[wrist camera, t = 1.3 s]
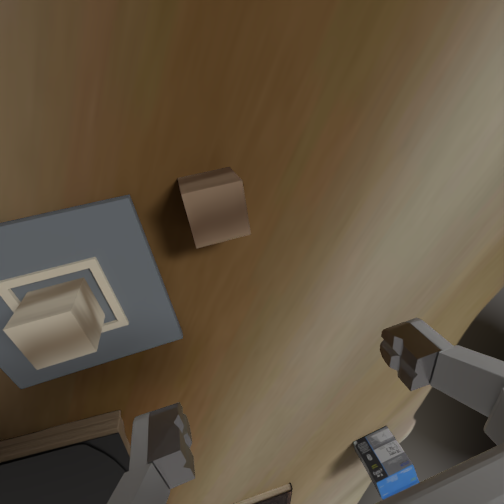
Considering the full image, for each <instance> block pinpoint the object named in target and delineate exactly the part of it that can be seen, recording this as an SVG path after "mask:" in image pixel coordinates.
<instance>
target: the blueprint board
mask: <svg viewBox="0 0 504 504" xmlns="http://www.w3.org/2000/svg"><path fill="white" fill-rule="evenodd" d="M83 277H84V278H85V280H86V282H87V284H88V285H89V287H90V289H91V291H92V292H93V294H94V296H95V298H96V300H97V301H98V303H99V305H100V307H101V308H102V310H103V312H104V314H105V318H104V323H103V327H102V331H101V336H100V340H99V344H98V349H97V352H94V353H91V354H87V355H84V356H81V357H78V358H74V359H71V360H68V361H65V362H61V363H58V364H55V365H52V366H48V367H45V368H42V369H39V370H37V369H36V368H35V367H34V366H33V365H32V364H31V362H30V361H29V360H28V359H27V358H26V357H25V355H24V354H23V353H22V352H21V351H20V350H19V348H18V347H17V346H16V345H15V344H14V343H13V341H12V340H11V339H10V338H9V337H8V335H7V334H6V333H5V332H4V331H3V329H4V327H5V326H6V324H7V323H8V321H9V320H10V318H11V317H12V315H13V314H14V312H15V310H16V309H17V307H18V306H19V304H20V303H21V301H22V300H23V298H24V297H25V295H26V293H27V292H30V291H34V290H38V289H41V288H45V287H49V286H53V285H57V284H60V283H64V282H68V281H72V280H76V279H79V278H83ZM182 338H183V333H182V330H181V327H180V325H179V322H178V319H177V317H176V314H175V312H174V309H173V306H172V304H171V301H170V299H169V296H168V293H167V291H166V288H165V285H164V283H163V280H162V278H161V275H160V272H159V270H158V267H157V265H156V262H155V259H154V257H153V254H152V252H151V249H150V246H149V244H148V241H147V238H146V236H145V233H144V231H143V228H142V225H141V223H140V220H139V218H138V215H137V212H136V210H135V207H134V205H133V202H132V199H131V197H130V195H125V196H121V197H116V198H111V199H107V200H102V201H98V202H93V203H89V204H84V205H80V206H75V207H71V208H66V209H62V210H57V211H53V212H48V213H44V214H39V215H35V216H30V217H26V218H21V219H17V220H12V221H8V222H3V223H0V368H1V369H2V370H3V371H4V372H5V373H6V374H7V375H8V376H9V377H10V378H11V380H12V381H13V382H14V383H15V384H16V385H17V386H18V387H19V388H20V389H23V388H27V387H30V386H33V385H36V384H39V383H42V382H46V381H49V380H52V379H55V378H58V377H61V376H65V375H68V374H71V373H74V372H77V371H80V370H84V369H87V368H90V367H93V366H96V365H99V364H103V363H106V362H109V361H112V360H115V359H118V358H121V357H125V356H128V355H131V354H134V353H137V352H140V351H144V350H147V349H150V348H153V347H156V346H159V345H163V344H166V343H169V342H172V341H175V340H178V339H182Z"/></svg>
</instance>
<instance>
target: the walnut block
mask: <svg viewBox="0 0 504 504" xmlns="http://www.w3.org/2000/svg"><path fill="white" fill-rule="evenodd" d="M177 179H178V183H179V187H180V192H181V196H182V199H183V203H184V206H185V210H186V213H187V217H188V220H189V224H190V227H191V231H192V234H193V238H194V242H195V245H196V249H197V248H200V247H204V246H208V245H212V244H216V243H219V242H223V241H227V240H231V239H235V238H238V237H242V236H246V235H250V234H251V232H250V226H249V219H248V213H247V207H246V201H245V194H244V188H243V182H242V180H241V179H240V177H239V176H238V175H237V174H236V173H235V172H234V171H233V170H232V169H231V168H230V167H227V168H222V169H217V170H213V171H208V172H204V173H199V174H194V175H190V176H185V177H181V178H177Z"/></svg>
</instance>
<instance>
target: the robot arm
mask: <svg viewBox="0 0 504 504" xmlns="http://www.w3.org/2000/svg"><path fill="white" fill-rule="evenodd" d="M381 337H382V338H383V339H384V340H383V341H382V343H381V344H380V352H381V355H382V357H383V359H384V361H385V362H386V363H387V365H388V366H389V367H390V368H393V369H395V370H397V373H398V377H399V378H400V380H401V381H402V382H403V383H404V384H405V385H406V386H407V388H408V389H409V390H410V391H412V390H415V389H418V388H420V387H423V386H426V385H429V384H430V385H431V386H432V387H434V388H436V389H438V390H440V391H442V392H444V393H445V394H447V395H449V396H451V397H453V398H454V399H456V400H458V401H460V402H462V403H463V404H465V405H467V406H469V407H471V408H473V409H474V410H476V411H478V412H480V413H482V414H483V415H485V416H487V417H489V418H488V420H487V422H486V424H485V426H484V432H485V433H486V434H487V435H488V436H489V437H490V438H491V439H492V440H493V441H494V442H495V443H496V444H497V445H498V446H496V447H494V448H492V449H490V450H488V451H486V452H484V453H481V454H479V455H477V456H475V457H473V458H471V459H469V460H466V461H464V462H462V463H460V464H458V465H456V466H454V467H452V468H450V469H447V470H445V471H443V472H441V473H439V474H437V475H435V476H433V477H430V478H429V479H426V480H424V481H422V482H420V483H418V484H416V485H413V486H411V487H409V488H407V489H405V490H403V491H401V492H399V493H397V494H394V495H392V496H390V497H388V498H386V499H384V500H382V501H380V502H378V503H375V504H504V361H501V360H498V359H495V358H492V357H490V356H487V355H484V354H481V353H478V352H475V351H473V350H470V349H467V348H464V347H461V346H458V345H456V346H453V345H452V344H451V343H449V342H448V341H447V340H446V339H445V338H443V337H442V336H441V335H440V334H438V333H437V332H436V331H435V330H434V329H432V328H431V327H430V326H429V325H427V324H426V323H425V322H424V321H423V320H421V319H419V318H414V319H412V320H409V321H406V322H402V323H400V324H397V325H394V326H392V327H389V328H386V329H384V330H383V331H382V335H381ZM191 444H192V437H191V431H190V425H189V422H188V419H187V416H186V415H185V414H183V408H182V406H181V404H180V402H178V403H176V404H173V405H170V406H167V407H164V408H161V409H158V410H155V411H152V412H148V413H145V414H143V415H140V416H137V417H135V419H134V422H133V428H132V440H131V452H130V463H129V471H128V472H125V473H124V474H123V476H122V478H121V479H120V481H119V483H118V485H117V487H116V488H115V490H114V492H113V494H112V495H111V497H110V499H109V501H108V503H107V504H166V502H167V499H168V496H169V494H170V490H169V489H172V488H174V487H176V486H178V485H181V484H183V483H185V482H188V481H190V480H192V479H194V478H195V469H194V458H193V455H192V452H191V450H190V446H191Z"/></svg>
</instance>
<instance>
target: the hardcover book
mask: <svg viewBox="0 0 504 504" xmlns="http://www.w3.org/2000/svg"><path fill="white" fill-rule="evenodd" d="M291 495H292V485H291V483H289V484H286V485H283V486H281V487H278V488H275V489H272V490H270V491H267V492H264V493H261V494H259V495H256V496H253V497H250V498H248V499H245V500H242V501H239V502H237V503H234V504H290V501H291Z"/></svg>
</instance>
